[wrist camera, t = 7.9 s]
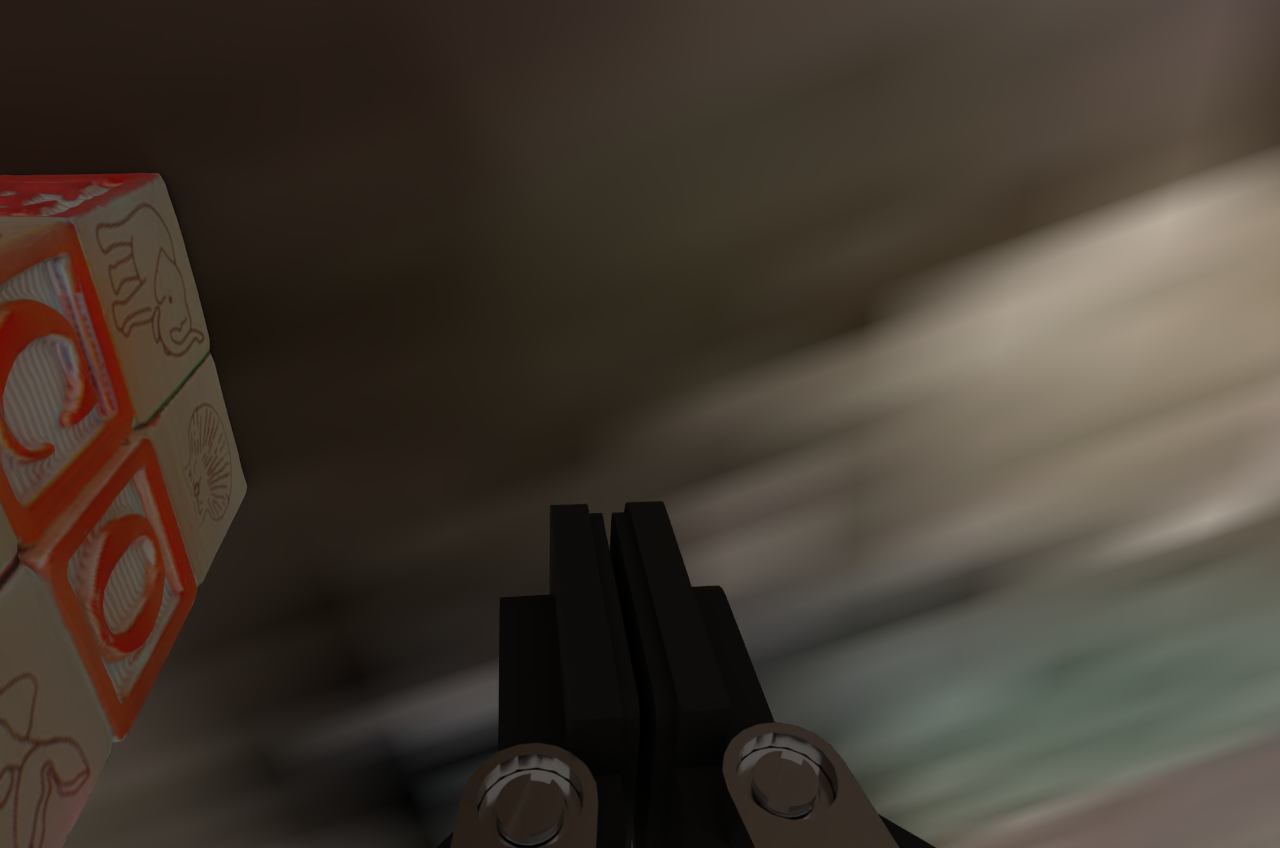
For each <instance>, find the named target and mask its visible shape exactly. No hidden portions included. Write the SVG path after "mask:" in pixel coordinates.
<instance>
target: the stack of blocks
mask: <svg viewBox="0 0 1280 848" xmlns="http://www.w3.org/2000/svg"><path fill="white" fill-rule="evenodd" d="M246 490H247V484H246V481H245V478H244V474H243V471H242V468H241V464H240V459H239V454H238V450H237V447H236V443H235V439H234V436H233V432H232V428H231V425H230V421H229V417H228V414H227V410H226V406H225V403H224V399H223V395H222V391H221V387H220V383H219V379H218V375H217V371H216V367H215V363H214V360H213V358H212V356H211V354H210V339H209V335H208V331H207V327H206V323H205V319H204V315H203V311H202V307H201V303H200V299H199V295H198V291H197V287H196V284H195V280H194V277H193V273H192V270H191V266H190V263H189V259H188V256H187V252H186V248H185V244H184V241H183V237H182V234H181V231H180V227H179V224H178V221H177V218H176V215H175V212H174V209H173V206H172V203H171V200H170V197H169V194H168V191H167V188H166V185H165V182H164V180H163V179H162V177H161V176H160V174H159V173H127V174H77V175H0V848H62V847H63V845H64V843H65V841H66V839H67V837H68V835H69V833H70V831H71V829H72V828H73V826H74V824H75V822H76V820H77V818H78V817H79V815H80V813H81V811H82V809H83V807H84V806H85V804H86V802H87V800H88V798H89V796H90V794H91V792H92V790H93V788H94V786H95V784H96V782H97V779H98V777H99V774H100V772H101V771H102V769H103V768H104V766H105V764H106V763H107V761H108V758H109V756H110V753H111V751H112V744H113V742H119V741H123V740H124V739H125V737H126V736H127V734H128V732H129V730H130V728H131V727H132V725H133V723H134V721H135V719H136V717H137V715H138V713H139V712H140V710H141V708H142V706H143V704H144V702H145V700H146V698H147V696H148V694H149V692H150V690H151V688H152V686H153V684H154V682H155V680H156V678H157V676H158V674H159V672H160V670H161V668H162V666H163V664H164V662H165V660H166V658H167V656H168V654H169V652H170V650H171V648H172V646H173V644H174V642H175V640H176V638H177V636H178V634H179V632H180V630H181V628H182V626H183V624H184V622H185V620H186V618H187V616H188V614H189V612H190V610H191V608H192V606H193V604H194V601H195V597H196V594H197V591H198V589H197V587H198V586H199V585H201V584H202V583H203V582H204V579H205V577H206V575H207V573H208V570H209V568H210V566H211V564H212V562H213V560H214V558H215V556H216V554H217V551H218V549H219V547H220V545H221V543H222V541H223V540H224V538H225V536H226V534H227V531H228V529H229V527H230V525H231V523H232V521H233V519H234V517H235V515H236V513H237V511H238V508H239V506H240V504H241V502H242V500H243V498H244V496H245V494H246Z"/></svg>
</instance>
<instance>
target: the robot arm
mask: <svg viewBox="0 0 1280 848" xmlns="http://www.w3.org/2000/svg"><path fill="white" fill-rule="evenodd" d="M631 841H632V842H633V848H935V847H934V846H932V845H930V844H929V843H927V842H925V841H923V840H922V839H920V838H918V837H917V836H915V835H913V834H911V833H910V832H908V831H906V830H905V829H903V828H901V827H900V826H898V825H896V824H894V823H893V822H891V821H889V820H888V819H886V818H884V817H882V816H881V815H879V814H878V813H877V812H876V810H875V809H874V807H873V806H872V804H871V802H870V801H869V799H868V798H867V796H866V795H865V793H864V792H863V790H862V788H861V787H860V785H859V784H858V782H857V781H856V779H855V777H854V776H853V774H852V773H851V771H850V770H849V768H848V766H847V765H846V763H845V762H844V760H843V759H842V758H841V757H840V755H839V754H838V753H837V752H836V751H835V750H834V748H833V747H832V746H831V745H830V744H828V743H827V742H826V741H824V740H823V739H822V738H820V737H819V736H817V735H816V734H815V733H812V732H810V731H808V730H805V729H803V728H800V727H798V726H795V725H789V724H783V723H775V722H774V719H773V717H772V714H771V712H770V709H769V706H768V704H767V701H766V699H765V696H764V693H763V691H762V688H761V686H760V683H759V680H758V678H757V675H756V673H755V670H754V667H753V665H752V662H751V660H750V657H749V654H748V652H747V649H746V647H745V644H744V642H743V639H742V636H741V634H740V631H739V629H738V626H737V623H736V621H735V618H734V616H733V613H732V610H731V608H730V605H729V603H728V600H727V597H726V595H725V593H724V591H723V589H722V588H721V587H720V586H700V587H692V586H691V583H690V580H689V577H688V574H687V571H686V568H685V565H684V562H683V559H682V556H681V553H680V550H679V547H678V544H677V541H676V538H675V535H674V532H673V529H672V526H671V523H670V520H669V517H668V514H667V511H666V508H665V505H664V503H663V502H662V501H655V502H628V503H626V504H625V509H624V512H619V513H612V518H611V536H610V551H609V546H608V541H607V536H606V531H605V526H604V521H603V516H602V513H592V514H589V510H588V505H587V504H573V505H550V595H537V596H518V597H500V639H499V733H498V752H497V753H496V754H494V755H493V756H491V757H490V758H489V759H487V760H486V761H484V762H483V763H482V764H481V765H480V766H479V767H478V768H477V770H476V771H475V772H474V773H473V774H472V776H471V777H470V778H469V780H468V782H467V785H466V787H465V790H464V792H463V795H462V797H461V802H460V806H459V811H458V815H457V819H456V824H455V828H454V832H453V833H452V834H451V835H450V836H449V837H447V838H446V839H445V840H444V841H443V842H442V843H441V844H440V845H439V846H438V847H437V848H631Z"/></svg>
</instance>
